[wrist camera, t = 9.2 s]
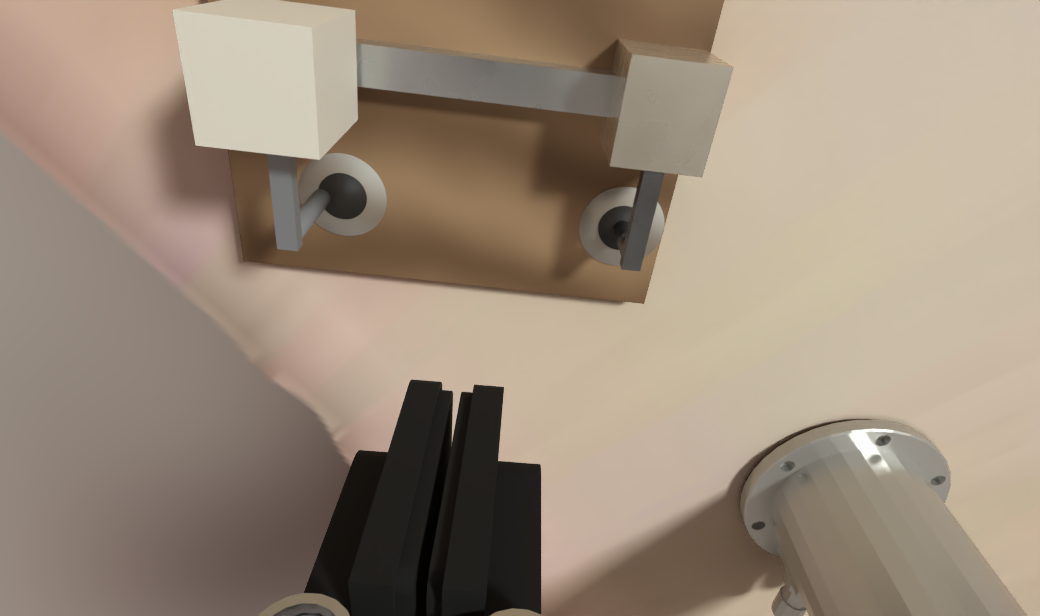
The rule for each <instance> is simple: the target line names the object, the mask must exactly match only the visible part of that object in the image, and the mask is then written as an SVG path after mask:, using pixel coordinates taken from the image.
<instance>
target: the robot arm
mask: <svg viewBox="0 0 1040 616" xmlns="http://www.w3.org/2000/svg"><path fill="white" fill-rule="evenodd" d="M503 392H504V387H496V386H483V385H474V388H473V393H470V392H462V393H461V397H460V403H459V408H458V414H457V419H456V425H455V430H454V436H453V441H452V407H453V392H452V391H445V390H442V383H441V382H434V381H421V380H411V381H410V383H409V386H408V389H407V392H406V395H405V399H404V402H403V405H402V408H401V412H400V415H399V418H398V421H397V425H396V428H395V431H394V434H393V438H392V441H391V444H390V447H389V451H388V452H375V451H363V450H359V451H358V452H357V453H356V455H355V458H354V460H353V462H352V465H351V467H350V470H349V473H348V476H347V478H346V481H345V484H344V487H343V489H342V492H341V494H340V497H339V500H338V502H337V505H336V508H335V510H334V513H333V516H332V519H331V521H330V524H329V527H328V530H327V532H326V535H325V537H324V540H323V543H322V545H321V548H320V551H319V554H318V556H317V559H316V562H315V564H314V567H313V570H312V573H311V575H310V578H309V581H308V583H307V586H306V588H305V591H304V593H303V594H298V595H293V596H289V597H286V598H284V599H282V600H280V601H278V602H276V603H274V604H272V605H270V606H269V607H268V608H267V609H265V610H264V611H263V612H262V613H260V614H259V615H258V616H543V615H541V466H540V464H527V463H515V462H502V461H498V453H499V441H500V428H501V416H502V404H503ZM451 444H452V447H451ZM950 486H951V472H950V469H949V466H948V463H947V460H946V459H945V458H944V456H943V455H942V454H941V452H940V451H939V450H938V448H937V447H936V446H935V445H934V444H933V443H932V442H931V441H930V440H929V439H928V438H927V437H926V436H925V435H924V434H922V433H920V432H918V431H917V430H915V429H913V428H911V427H908V426H905V425H902V424H899V423H896V422H889V421H882V420H852V421H845V422H838V423H833V424H829V425H825V426H822V427H818V428H815V429H812V430H810V431H807V432H805V433H803V434H800V435H798V436H796V437H794V438H792V439H790V440H789V441H787V442H785V443H784V444H782V445H780V446H778V447H777V448H776V449H775V450H773V451H772V452H771V453H770V454H768V455H767V456H766V457H765V458H763V460H762V461H761V462H760V463H759V464H758V465H757V466H756V467H755V468H754V470H753V471H752V472H751V474H750V476H749V477H748V479H747V481H746V482H745V484H744V487H743V490H742V494H741V497H740V510H741V514H742V518H743V521H744V524H745V526H746V528H747V531H748V533H749V535H750V536H751V538H752V539H753V540H754V541H755V542H756V544H757V545H758V546H760V547H761V548H763V549H764V550H765V551H767V552H768V553H770V554H772V555H775V556H777V557H779V558H781V560H782V563H783V565H784V568H785V572H784V575H783V579H784V584H785V585H784V586H783V587H781V589H780V590H779V592H778V594H777V596H776V597H775V599H774V601H773V603H772V611H773V614H774V615H775V616H803V615H804V613H805V612H806V610H807V612H808V614H809V616H1027V614H1026V613H1025V612H1024V610H1023V609H1022V608H1021V606H1020V605H1019V604H1018V602H1017V601H1016V600H1015V598H1014V597H1013V595H1012V594H1011V593H1010V591H1009V590H1008V589H1007V587H1006V586H1005V585H1004V583H1003V582H1002V581H1001V579H1000V578H999V577H998V575H997V574H996V573H995V571H994V570H993V568H992V567H991V566H990V564H989V563H988V562H987V560H986V559H985V558H984V556H983V555H982V554H981V552H980V551H979V550H978V548H977V547H976V546H975V544H974V543H973V541H972V540H971V539H970V537H969V536H968V535H967V533H966V532H965V531H964V529H963V528H962V527H961V525H960V524H959V523H958V521H957V520H956V519H955V517H954V516H953V514H952V513H951V512H950V510H949V509H948V508H947V506H946V505H945V504H944V503H945V501H946V499H947V496H948V493H949V489H950Z"/></svg>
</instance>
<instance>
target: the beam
mask: <svg viewBox="0 0 1040 616" xmlns="http://www.w3.org/2000/svg"><path fill="white" fill-rule="evenodd" d="M356 60H357V86H358V87H366V88H374V89H382V90H390V91H398V92H407V93H415V94H423V95H431V96H439V97H447V98H455V99H464V100H472V101H480V102H488V103H496V104H504V105H512V106H520V107H529V108H537V109H545V110H553V111H561V112H569V113H577V114H586V115H594V116H602V117H603V122H602V127H601V133H600V141H601V144H602V147H603V149H604V152H605V155H606V158H607V160H608V163H609V166H611V167H620V168H628V169H636V170H641V172H640V176H639V181H638V185H637V189H636V194H635V198H634V202H633V207H632V211H631V216H630V220H629V223H628V222H626V221H619V222H617V223H616V224H615V225H614V228H613V231H614V234H615V238H616V241H617V244H618V248H619V251H620V255H621V259H620V266H621V269H622V270H631V271H640V270H641V266H642V262H643V258H644V254H645V250H646V246H647V242H648V238H649V234H650V230H651V226H652V222H653V218H654V214H655V210H656V206H657V202H658V198H659V194H660V190H661V186H662V182H663V178H664V174H665V173H670V174H679V175H687V176H695V177H702V176H703V172H704V169H705V165H706V162H707V158H708V155H709V151H710V148H711V144H712V141H713V138H714V134H715V131H716V127H717V124H718V120H719V117H720V113H721V110H722V106H723V103H724V99H725V96H726V92H727V89H728V85H729V82H730V78H731V75H732V71H733V68H734V67H732V66H731V65H729V64H728V63H726V62H724V61H723V60H721V59H719V58H718V57H716V56H714V55H713V54H711V53H710V52H708V51H706V50H700V49H692V48H684V47H677V46H669V45H661V44H654V43H646V42H638V41H631V40H623V39H618V42H617V47H616V52H615V58H614V63H613V68H612V70H605V69H597V68H589V67H581V66H573V65H565V64H557V63H549V62H542V61H534V60H526V59H518V58H510V57H502V56H494V55H487V54H479V53H471V52H463V51H455V50H447V49H439V48H431V47H424V46H416V45H408V44H400V43H392V42H384V41H376V40H369V39H361V38H356Z"/></svg>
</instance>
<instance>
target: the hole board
mask: <svg viewBox="0 0 1040 616" xmlns="http://www.w3.org/2000/svg"><path fill="white" fill-rule="evenodd" d="M215 1H220V0H207V3H210V2H215ZM281 1H289V2H297V3H305V4H312V5H320V6H328V7H336V8H343V9H351V10H355V21H356V38H361V39H369V40H376V41H384V42H392V43H400V44H408V45H416V46H424V47H431V48H439V49H447V50H455V51H463V52H471V53H479V54H487V55H494V56H502V57H510V58H518V59H526V60H534V61H542V62H549V63H557V64H565V65H573V66H581V67H589V68H597V69H605V70H612V68H613V63H614V58H615V52H616V47H617V42H618V39H623V40H631V41H638V42H646V43H654V44H661V45H669V46H677V47H684V48H692V49H700V50H706V51H708V52H711V48H712V45H713V41H714V37H715V33H716V29H717V26H718V22H719V18H720V14H721V10H722V7H723V3H724V0H281ZM357 100H358V120H357V121H356V122H355V123H354V124H353V125H352V126H351V128H350V129H349V130H348V131H347V132H346V133H345V134H344V135H343V136H342V137H341V138H340V139H339V140H338V141H337V142H336V143H335V144H334V145H333V146H332V147H331V149H330V150H329V151H328V152H327V153H326V154H325V155H324V156H323V157H322V158H321V159H320V160H316V159H308V158H299V157H296V168H297V180H298V192H299V204H300V208H301V206H302V205H303V204H304V203H305V202H306V201H307V199H308V198H309V197H310V196H311V195H312V194H313V192H314V191H315V190H317V189H323V190H325V191H327V192H328V193H329V195H330V198H331V200H330V203H329V204H328V205H327V207H326V208H325V209H324V211H323V212H322V213H321V214H320V216H319V217H318V218H317V220H316V221H315V222H314V224H313V225H312V226H311V228H310V229H309V230H308V232H307V233H306V234H305V236H304V237H303V238H302V241H303V245H302V246H301V248H300V249H299V250H298V251H290V250H281V249H277V244H276V234H275V225H274V216H273V206H272V197H271V188H270V178H269V169H268V160H267V154H265V153H256V152H247V151H239V150H230V149H228V153H229V160H230V167H231V174H232V181H233V188H234V195H235V202H236V209H237V216H238V223H239V230H240V238H241V245H242V252H243V259H244V261H251V262H260V263H269V264H279V265H288V266H297V267H307V268H316V269H325V270H335V271H344V272H353V273H363V274H372V275H381V276H391V277H400V278H409V279H419V280H428V281H437V282H447V283H456V284H465V285H475V286H484V287H493V288H503V289H512V290H521V291H531V292H540V293H549V294H559V295H568V296H577V297H587V298H596V299H605V300H615V301H624V302H633V303H643V304H644V302H645V298H646V294H647V290H648V287H649V283H650V279H651V275H652V271H653V268H654V264H655V260H656V256H657V253H658V249H659V245H660V241H661V238H662V235H663V232H664V226H665V222H666V219H667V215H668V211H669V207H670V203H671V200H672V196H673V192H674V188H675V184H676V181H677V177H678V174H670V173H665V174H664V178H663V182H662V186H661V190H660V194H659V198H658V202H657V206H656V210H655V214H654V218H653V222H652V226H651V230H650V234H649V238H648V242H647V246H646V250H645V254H644V258H643V262H642V266H641V270H640V271H631V270H622V269H621V266H620V259H621V255H620V251H619V248H618V244H617V241H616V238H615V234H614V231H613V228H614V225H615V224H616V223H617V222H619V221H626V222H628V223H629V220H630V216H631V211H632V207H633V202H634V198H635V194H636V189H637V185H638V181H639V176H640V172H641V170H636V169H628V168H620V167H611V166H609V163H608V160H607V158H606V155H605V152H604V149H603V147H602V144H601V141H600V133H601V127H602V122H603V117H602V116H594V115H586V114H577V113H569V112H561V111H553V110H545V109H537V108H529V107H520V106H512V105H504V104H496V103H488V102H480V101H472V100H464V99H455V98H447V97H439V96H431V95H423V94H415V93H407V92H398V91H390V90H382V89H374V88H366V87H358V86H357Z"/></svg>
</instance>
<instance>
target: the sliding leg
mask: <svg viewBox="0 0 1040 616" xmlns="http://www.w3.org/2000/svg"><path fill="white" fill-rule="evenodd" d="M173 15H174V21H175V27H176V33H177V39H178V45H179V51H180V57H181V62H182V68H183V74H184V80H185V86H186V92H187V98H188V104H189V110H190V115H191V121H192V127H193V133H194V139H195V145H196V146H204V147H213V148H222V149H230V150H239V151H247V152H256V153H265V154H267V160H268V169H269V178H270V188H271V197H272V206H273V216H274V225H275V234H276V244H277V249H281V250H290V251H298V250H299V249H300V248H301V246H302V245H303V241H302V238H303V237H304V236H305V234H306V233H307V232H308V230H309V229H310V228H311V226H312V225H313V224H314V222H315V221H316V220H317V218H318V217H319V216H320V214H321V213H322V212H323V211H324V209H325V208H326V207H327V205H328V204H329V203H330V200H331V198H330V195H329V193H328V192H327V191H325V190H323V189H317V190H315V191H314V192H313V194H312V195H311V196H310V197H309V198H308V199H307V201H306V202H305V203H304V204H303V205H302V206H301V208H300V204H299V192H298V180H297V168H296V157H299V158H308V159H316V160H320V159H321V158H322V157H323V156H324V155H325V154H326V153H327V152H328V151H329V150H330V149H331V147H332V146H333V145H334V144H335V143H336V142H337V141H338V140H339V139H340V138H341V137H342V136H343V135H344V134H345V133H346V132H347V131H348V130H349V129H350V128H351V126H352V125H353V124H354V123H355V122H356V121H357V120H358V100H357V60H356V21H355V10H351V9H343V8H336V7H328V6H320V5H312V4H305V3H297V2H289V1H281V0H220V1H215V2H210V3H205V4H199V5H194V6H189V7H184V8H178V9H173Z"/></svg>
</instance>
